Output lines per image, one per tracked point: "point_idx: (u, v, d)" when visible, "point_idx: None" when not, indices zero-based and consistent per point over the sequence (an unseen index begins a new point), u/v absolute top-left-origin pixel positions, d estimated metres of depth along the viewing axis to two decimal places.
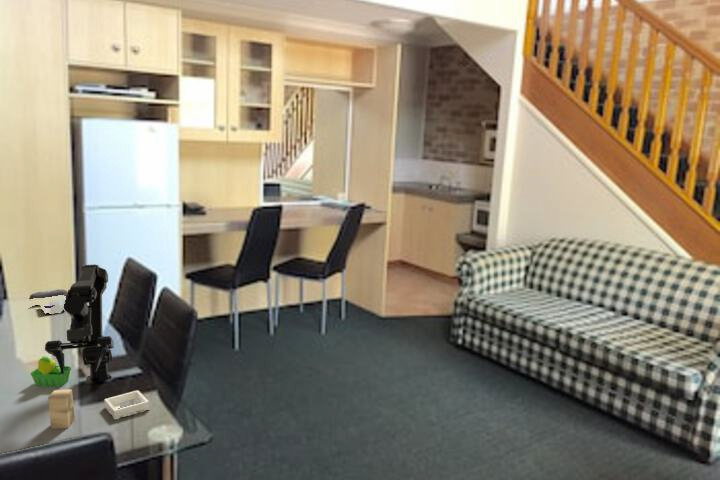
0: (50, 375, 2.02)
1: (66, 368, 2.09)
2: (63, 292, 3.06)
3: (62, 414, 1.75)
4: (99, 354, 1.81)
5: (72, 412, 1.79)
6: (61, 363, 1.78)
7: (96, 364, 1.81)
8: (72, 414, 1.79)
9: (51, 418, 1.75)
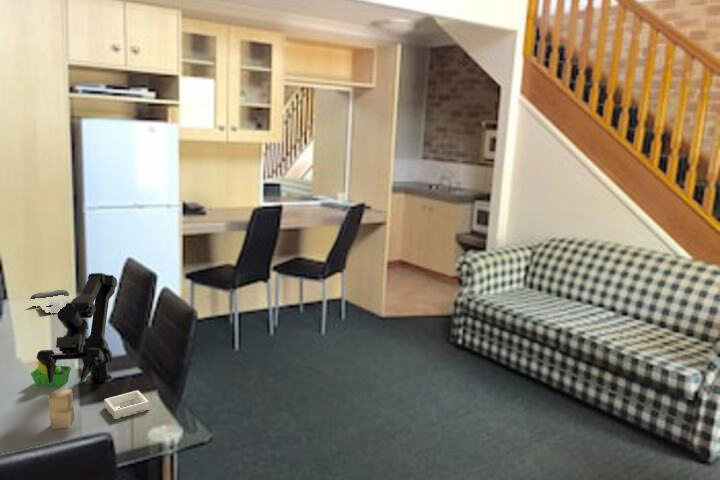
0: None
1: (66, 368, 2.09)
2: (64, 292, 3.05)
3: (62, 414, 1.75)
4: (86, 365, 1.83)
5: (72, 412, 1.79)
6: (49, 372, 1.81)
7: (82, 374, 1.82)
8: (72, 414, 1.79)
9: (51, 418, 1.75)
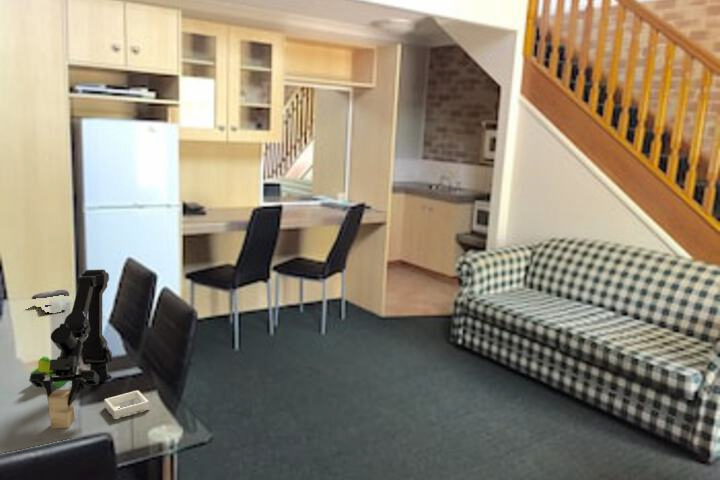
0: (50, 375, 2.02)
1: None
2: (65, 292, 3.05)
3: (62, 414, 1.75)
4: (74, 388, 1.77)
5: (72, 412, 1.79)
6: (49, 394, 1.76)
7: (70, 398, 1.76)
8: (72, 414, 1.79)
9: (51, 418, 1.75)
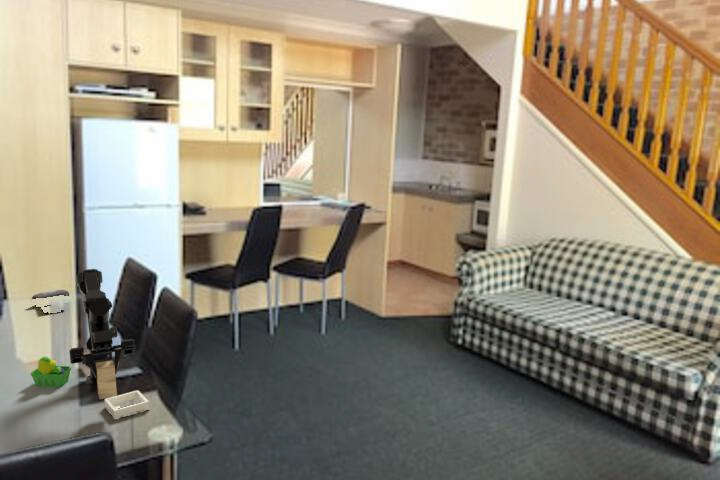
0: (50, 375, 2.02)
1: (66, 368, 2.09)
2: (65, 292, 3.05)
3: (111, 383, 1.80)
4: (118, 357, 1.83)
5: None
6: (94, 367, 1.80)
7: (116, 367, 1.82)
8: None
9: (99, 389, 1.79)
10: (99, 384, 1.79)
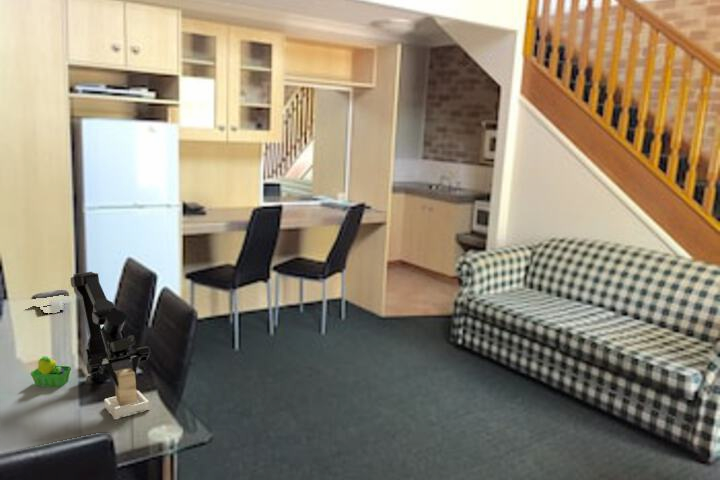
0: (50, 375, 2.02)
1: (66, 368, 2.09)
2: (65, 292, 3.05)
3: (131, 390, 1.85)
4: (135, 365, 1.88)
5: None
6: (114, 375, 1.84)
7: (135, 374, 1.87)
8: None
9: (121, 396, 1.83)
10: (121, 392, 1.83)
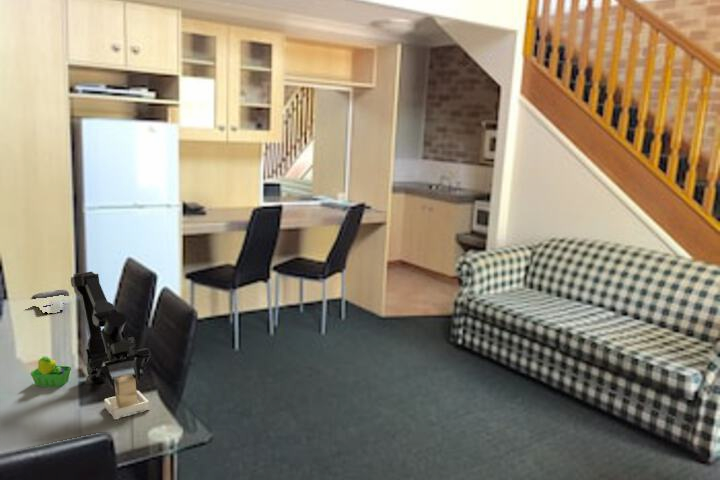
0: (50, 375, 2.02)
1: (66, 368, 2.09)
2: (65, 292, 3.05)
3: (132, 396, 1.85)
4: (139, 366, 1.89)
5: None
6: (110, 378, 1.83)
7: (139, 375, 1.88)
8: None
9: (121, 402, 1.84)
10: (121, 398, 1.83)
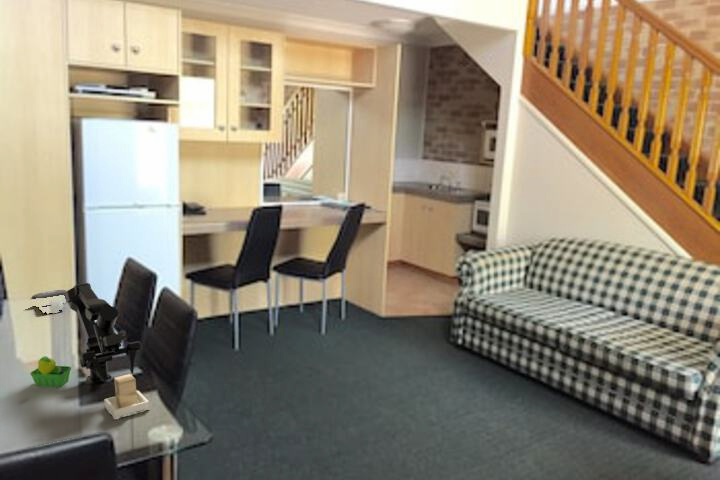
0: (50, 375, 2.02)
1: (66, 368, 2.09)
2: (64, 292, 3.05)
3: (132, 396, 1.85)
4: (133, 357, 1.96)
5: None
6: (100, 370, 1.89)
7: (132, 366, 1.95)
8: None
9: (121, 402, 1.84)
10: (121, 398, 1.83)
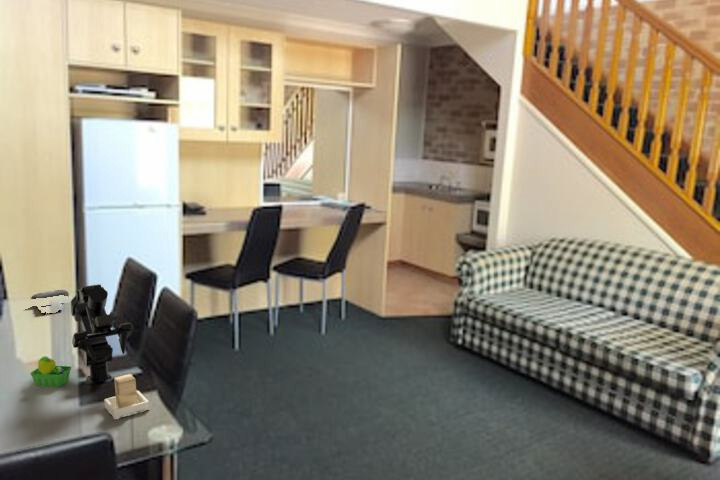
0: (50, 375, 2.02)
1: (66, 368, 2.09)
2: (64, 292, 3.05)
3: (132, 396, 1.85)
4: (124, 338, 2.00)
5: None
6: (92, 350, 1.93)
7: (123, 347, 1.98)
8: None
9: (121, 402, 1.84)
10: (121, 398, 1.83)
